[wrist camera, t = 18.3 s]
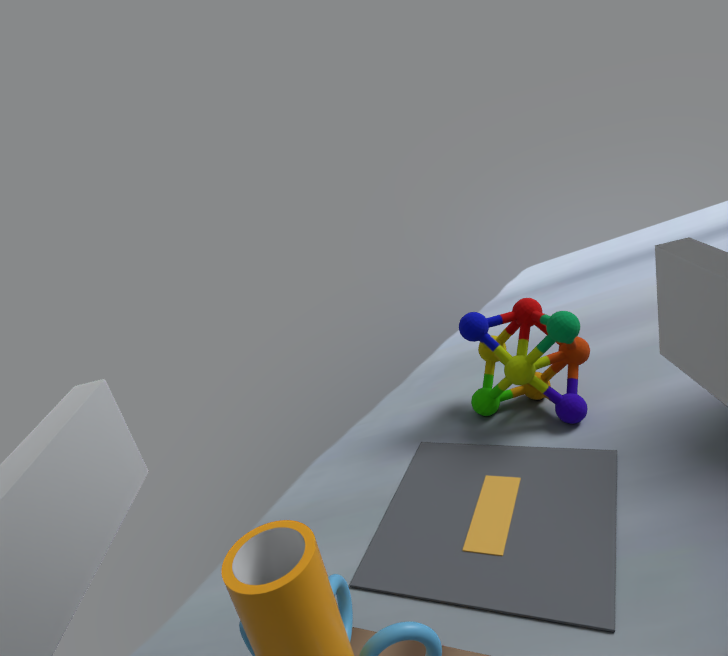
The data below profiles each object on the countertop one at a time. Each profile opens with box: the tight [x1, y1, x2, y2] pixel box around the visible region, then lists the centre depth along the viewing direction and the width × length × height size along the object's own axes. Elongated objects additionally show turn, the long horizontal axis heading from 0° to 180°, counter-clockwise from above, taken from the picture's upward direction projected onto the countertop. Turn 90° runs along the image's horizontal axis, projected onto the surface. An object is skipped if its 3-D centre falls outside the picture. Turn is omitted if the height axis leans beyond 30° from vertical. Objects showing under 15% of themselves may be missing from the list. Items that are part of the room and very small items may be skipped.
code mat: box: [350, 442, 617, 632], centre depth 45 cm, size 18×18×1 cm
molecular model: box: [459, 298, 590, 424], centre depth 56 cm, size 12×7×12 cm, turn 58°
